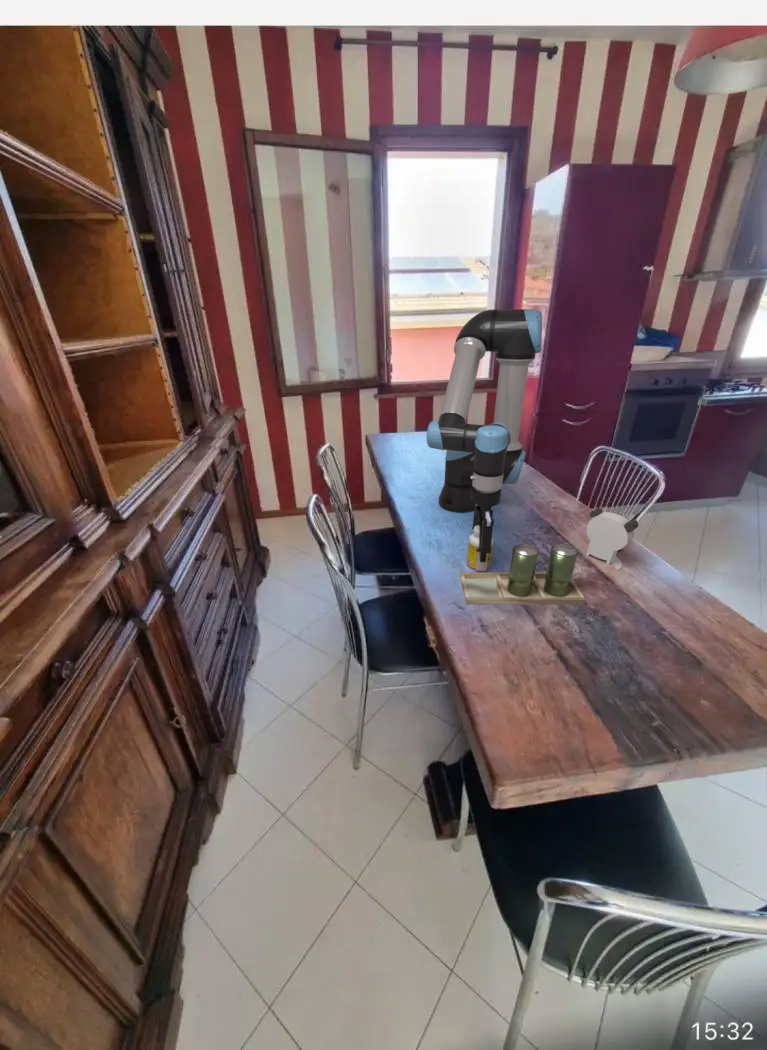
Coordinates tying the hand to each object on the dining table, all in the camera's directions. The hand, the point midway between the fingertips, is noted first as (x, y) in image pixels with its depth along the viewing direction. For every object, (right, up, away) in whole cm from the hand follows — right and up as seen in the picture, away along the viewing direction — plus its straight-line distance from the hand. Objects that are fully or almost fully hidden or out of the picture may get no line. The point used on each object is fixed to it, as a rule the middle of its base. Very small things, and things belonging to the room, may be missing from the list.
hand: (478, 562), depth 119 cm
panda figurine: (+36, 0, +3) cm, 36 cm away
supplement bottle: (0, -2, +1) cm, 2 cm away
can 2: (+18, -6, -10) cm, 21 cm away
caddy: (+8, -7, -10) cm, 15 cm away
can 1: (+8, -6, -10) cm, 14 cm away
